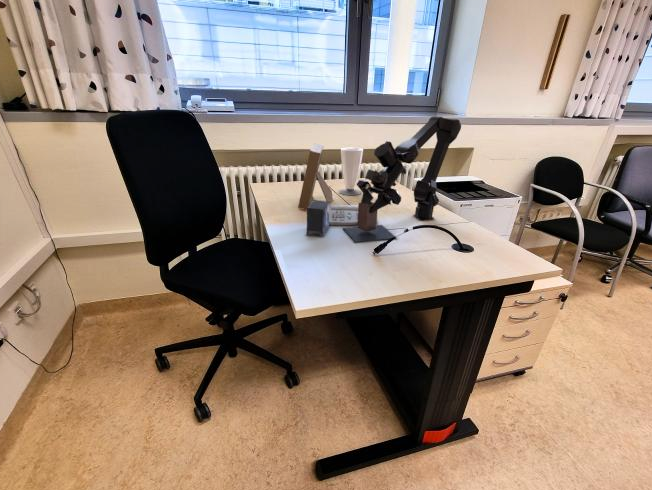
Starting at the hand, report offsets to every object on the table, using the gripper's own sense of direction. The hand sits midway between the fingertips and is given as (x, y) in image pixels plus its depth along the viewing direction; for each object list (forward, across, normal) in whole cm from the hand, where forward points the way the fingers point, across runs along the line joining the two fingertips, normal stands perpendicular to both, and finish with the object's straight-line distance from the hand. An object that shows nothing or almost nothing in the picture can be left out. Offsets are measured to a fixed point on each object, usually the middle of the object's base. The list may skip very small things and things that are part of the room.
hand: (365, 210), depth 122 cm
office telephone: (0, -18, +13) cm, 23 cm away
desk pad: (+5, +1, +8) cm, 9 cm away
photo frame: (+1, -42, +12) cm, 44 cm away
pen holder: (+4, 0, +6) cm, 7 cm away
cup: (-18, -49, +31) cm, 61 cm away
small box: (+15, -12, -2) cm, 19 cm away
